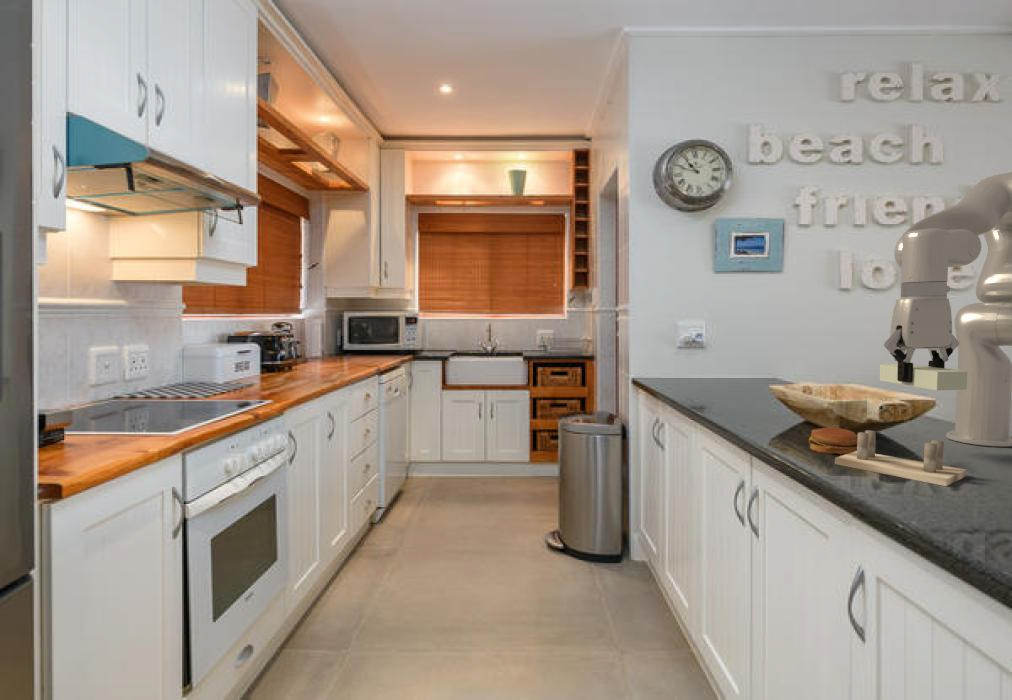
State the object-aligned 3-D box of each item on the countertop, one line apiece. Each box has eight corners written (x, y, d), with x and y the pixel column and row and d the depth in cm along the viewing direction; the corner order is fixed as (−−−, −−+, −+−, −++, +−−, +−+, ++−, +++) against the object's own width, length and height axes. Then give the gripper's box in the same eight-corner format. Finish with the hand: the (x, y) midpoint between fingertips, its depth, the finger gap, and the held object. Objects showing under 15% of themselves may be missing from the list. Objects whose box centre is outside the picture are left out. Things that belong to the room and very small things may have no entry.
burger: (870, 456, 118) (870, 434, 117) (825, 456, 118) (825, 434, 117) (841, 445, 128) (842, 425, 127) (800, 446, 128) (800, 425, 127)
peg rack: (857, 456, 117) (858, 426, 117) (966, 476, 102) (967, 442, 102) (834, 463, 111) (835, 432, 111) (946, 486, 97) (947, 450, 96)
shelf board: (906, 379, 123) (906, 363, 123) (966, 389, 108) (967, 371, 108) (879, 380, 122) (880, 364, 122) (936, 390, 107) (937, 372, 107)
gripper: (946, 292, 118) (943, 378, 120) (869, 293, 117) (867, 380, 118) (980, 290, 111) (976, 382, 112) (898, 291, 109) (895, 385, 111)
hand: (920, 380), depth 115 cm, fingers closed on shelf board, 6 cm apart
